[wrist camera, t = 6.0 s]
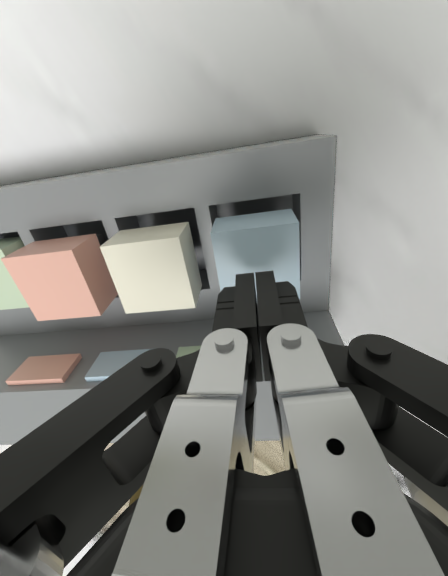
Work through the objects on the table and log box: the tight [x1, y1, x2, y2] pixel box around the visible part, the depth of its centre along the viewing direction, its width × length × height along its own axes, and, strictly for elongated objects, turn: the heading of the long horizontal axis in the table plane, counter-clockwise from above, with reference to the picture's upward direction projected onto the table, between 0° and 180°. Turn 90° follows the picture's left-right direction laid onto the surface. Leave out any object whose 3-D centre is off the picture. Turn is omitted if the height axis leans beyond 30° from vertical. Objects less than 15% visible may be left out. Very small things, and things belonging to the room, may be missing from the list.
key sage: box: [0, 236, 29, 310], centre depth 19 cm, size 4×4×4 cm
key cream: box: [100, 222, 202, 314], centre depth 16 cm, size 4×4×4 cm
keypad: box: [0, 135, 344, 445], centre depth 18 cm, size 25×15×10 cm, turn 99°
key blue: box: [210, 209, 300, 299], centre depth 15 cm, size 4×4×4 cm
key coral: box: [1, 234, 118, 321], centre depth 16 cm, size 4×4×4 cm
